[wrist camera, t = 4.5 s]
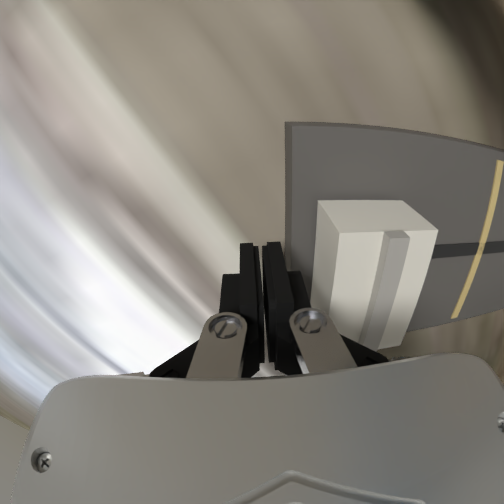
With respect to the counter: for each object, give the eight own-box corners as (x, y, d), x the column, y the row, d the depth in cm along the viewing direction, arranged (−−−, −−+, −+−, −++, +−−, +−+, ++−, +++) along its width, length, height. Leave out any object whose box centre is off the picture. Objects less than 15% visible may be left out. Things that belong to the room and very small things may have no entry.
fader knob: (402, 200, 12) (445, 236, 8) (379, 305, 15) (403, 352, 11) (317, 200, 12) (344, 240, 8) (308, 313, 14) (322, 366, 11)
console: (537, 160, 12) (556, 170, 10) (500, 292, 18) (512, 306, 16) (284, 121, 12) (292, 125, 10) (282, 324, 18) (286, 348, 16)
